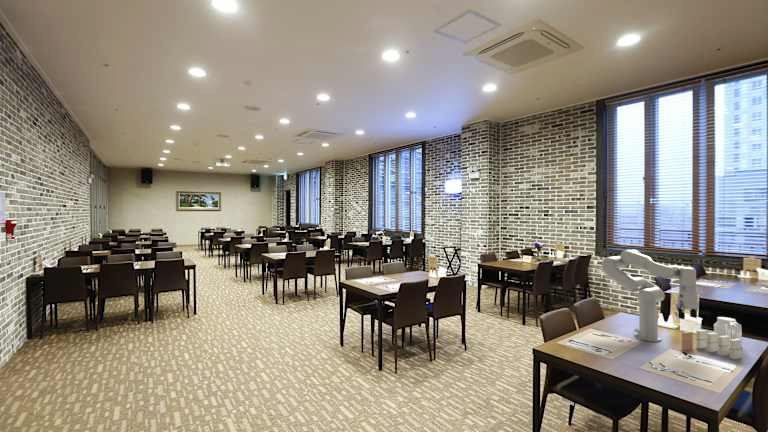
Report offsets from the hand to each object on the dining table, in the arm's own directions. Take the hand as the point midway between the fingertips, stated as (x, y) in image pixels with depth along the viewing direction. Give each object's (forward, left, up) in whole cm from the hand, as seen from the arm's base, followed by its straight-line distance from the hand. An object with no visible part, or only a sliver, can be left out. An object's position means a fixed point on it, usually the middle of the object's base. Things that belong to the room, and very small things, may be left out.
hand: (687, 317), depth 211 cm
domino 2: (+1, +11, -18) cm, 21 cm away
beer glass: (+8, +25, -18) cm, 32 cm away
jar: (0, +33, -18) cm, 38 cm away
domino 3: (+6, +11, -18) cm, 22 cm away
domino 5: (+17, +11, -18) cm, 27 cm away
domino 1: (0, 0, -18) cm, 18 cm away
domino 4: (+12, +11, -18) cm, 24 cm away
